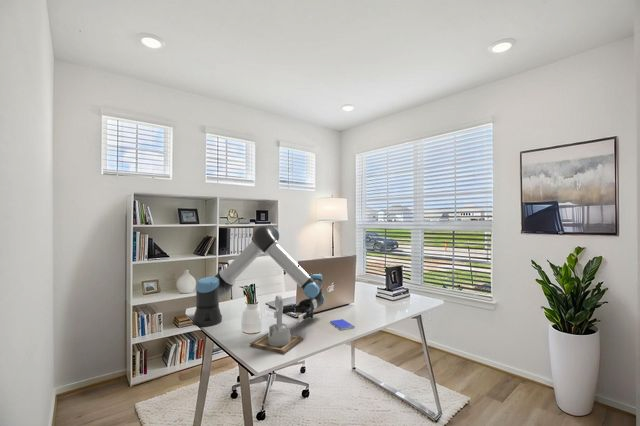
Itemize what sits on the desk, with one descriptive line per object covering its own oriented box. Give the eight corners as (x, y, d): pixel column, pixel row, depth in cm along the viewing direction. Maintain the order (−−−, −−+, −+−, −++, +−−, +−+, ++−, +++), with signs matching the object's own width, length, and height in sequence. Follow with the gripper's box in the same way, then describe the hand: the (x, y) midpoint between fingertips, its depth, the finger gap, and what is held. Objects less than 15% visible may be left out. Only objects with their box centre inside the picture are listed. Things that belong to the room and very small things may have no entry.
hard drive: (354, 326, 160) (343, 318, 171) (341, 328, 157) (330, 320, 168) (354, 329, 160) (343, 321, 171) (341, 331, 157) (330, 323, 168)
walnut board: (250, 346, 137) (250, 342, 137) (270, 333, 151) (270, 331, 151) (284, 354, 129) (284, 350, 129) (302, 340, 144) (302, 337, 144)
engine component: (270, 347, 133) (293, 344, 136) (270, 300, 133) (293, 298, 136) (266, 338, 143) (286, 335, 147) (266, 294, 143) (287, 292, 147)
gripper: (328, 316, 161) (309, 329, 142) (287, 309, 172) (265, 321, 153) (328, 301, 161) (309, 313, 142) (287, 296, 172) (265, 306, 153)
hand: (286, 317), depth 147 cm, fingers open, 13 cm apart
